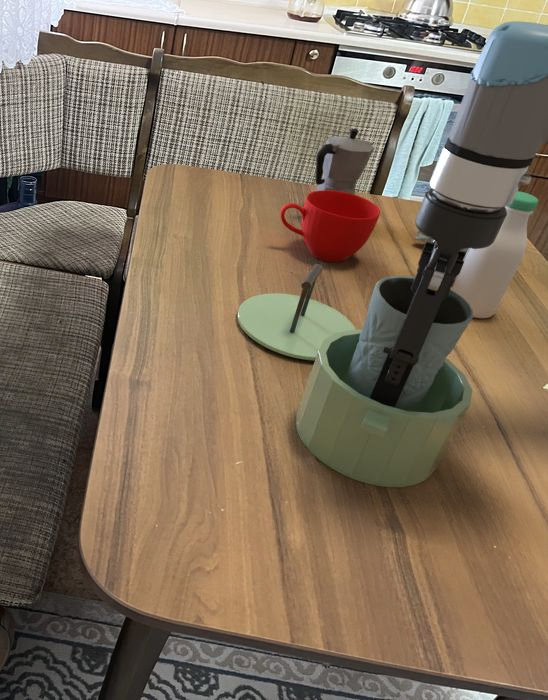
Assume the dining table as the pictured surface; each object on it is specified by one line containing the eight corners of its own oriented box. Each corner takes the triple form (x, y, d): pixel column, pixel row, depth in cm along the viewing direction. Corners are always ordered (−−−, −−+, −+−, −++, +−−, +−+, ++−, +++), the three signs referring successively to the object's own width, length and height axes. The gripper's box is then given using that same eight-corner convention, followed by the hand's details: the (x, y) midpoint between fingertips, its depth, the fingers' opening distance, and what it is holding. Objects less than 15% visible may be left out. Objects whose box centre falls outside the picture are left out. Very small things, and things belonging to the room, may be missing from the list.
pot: (444, 415, 90) (478, 350, 84) (424, 525, 73) (464, 453, 67) (318, 370, 96) (340, 306, 90) (273, 462, 79) (297, 391, 73)
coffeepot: (332, 201, 151) (357, 119, 140) (366, 218, 144) (396, 133, 134) (282, 211, 143) (306, 125, 133) (316, 229, 137) (344, 140, 127)
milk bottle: (503, 320, 113) (562, 207, 101) (459, 318, 112) (514, 204, 100) (477, 296, 119) (530, 187, 108) (436, 295, 118) (485, 184, 107)
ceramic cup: (267, 232, 134) (280, 183, 128) (353, 243, 133) (370, 194, 127) (275, 262, 123) (290, 210, 117) (370, 274, 122) (389, 222, 117)
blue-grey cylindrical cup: (377, 353, 86) (411, 268, 79) (449, 398, 79) (493, 310, 72) (323, 374, 81) (355, 286, 74) (396, 425, 74) (438, 332, 67)
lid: (365, 323, 108) (387, 268, 102) (342, 379, 94) (364, 319, 89) (256, 288, 114) (271, 234, 109) (220, 335, 101) (234, 277, 95)
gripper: (506, 248, 57) (410, 445, 70) (512, 176, 74) (433, 347, 86) (412, 223, 60) (336, 418, 73) (439, 159, 76) (373, 327, 89)
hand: (389, 379), depth 79 cm, fingers closed on blue-grey cylindrical cup, 9 cm apart
